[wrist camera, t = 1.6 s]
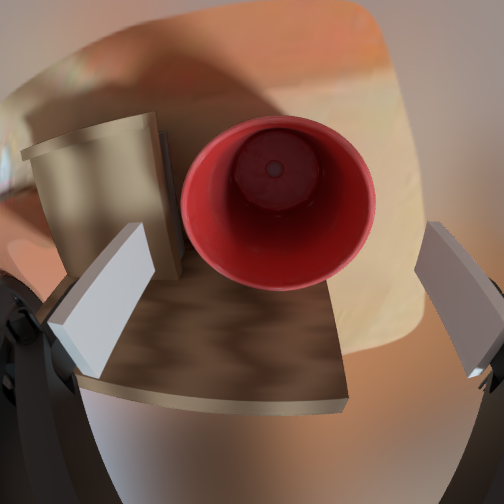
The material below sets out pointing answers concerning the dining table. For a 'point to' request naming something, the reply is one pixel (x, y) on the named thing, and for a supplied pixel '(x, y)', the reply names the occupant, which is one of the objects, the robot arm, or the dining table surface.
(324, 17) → the dining table surface
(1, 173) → the dining table surface
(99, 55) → the dining table surface
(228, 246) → the flower pot
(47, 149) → the small wooden stand
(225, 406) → the wooden board
